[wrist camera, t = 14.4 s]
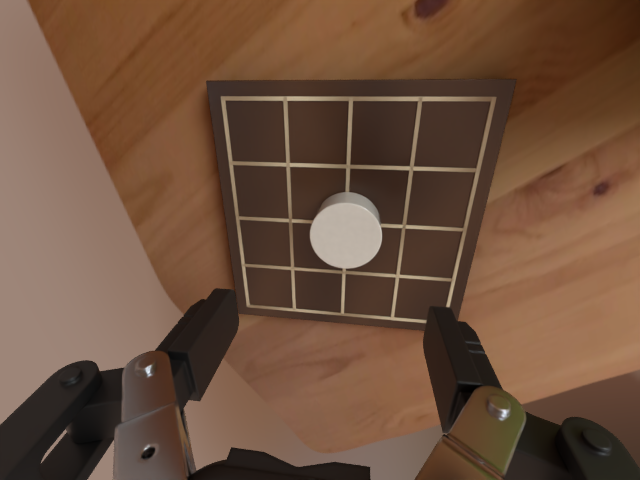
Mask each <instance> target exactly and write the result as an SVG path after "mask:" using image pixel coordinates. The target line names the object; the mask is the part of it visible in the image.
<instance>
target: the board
mask: <svg viewBox="0 0 640 480" xmlns="http://www.w3.org/2000/svg"><path fill="white" fill-rule="evenodd" d="M206 83H207V90H208V97H209V105H210V112H211V119H212V126H213V133H214V140H215V147H216V154H217V162H218V169H219V176H220V183H221V190H222V197H223V204H224V211H225V219H226V226H227V233H228V240H229V247H230V254H231V261H232V268H233V276H234V283H235V290H236V297H237V304H238V311H239V314H249V315H259V316H270V317H281V318H292V319H303V320H314V321H325V322H335V323H346V324H357V325H368V326H379V327H390V328H400V329H411V330H422V331H425V326H426V321H427V316H428V311H429V308H430V306H439V307H450V308H451V309H452V311H453V313H454V315H455V318H456V320H457V321H458V317H459V313H460V309H461V305H462V301H463V297H464V293H465V288H466V284H467V280H468V276H469V272H470V268H471V264H472V260H473V256H474V252H475V248H476V244H477V239H478V235H479V231H480V227H481V223H482V219H483V215H484V211H485V207H486V203H487V199H488V194H489V190H490V186H491V182H492V178H493V174H494V170H495V166H496V162H497V158H498V154H499V150H500V145H501V141H502V137H503V133H504V129H505V125H506V121H507V117H508V113H509V109H510V105H511V101H512V96H513V92H514V88H515V84H516V79H426V80H238V81H206ZM342 192H352V193H357V194H360V195H362V196H364V197H366V198H367V199H369V200H370V201H371V202H372V203H373V204H374V205H375V207H376V208H377V210H378V212H379V215H380V221H381V229H382V242H381V246H380V249H379V251H378V252H377V254H376V255H375V256H374V257H373V259H371V260H370V261H369V262H367V263H366V264H364V265H362V266H359V267H356V268H349V269H344V268H338V267H334V266H331V265H329V264H327V263H326V262H324V261H323V260H322V259H321V258H320V257H319V256H318V255H317V254H316V253H315V251H314V249H313V248H312V245H311V242H310V228H311V224H312V222H313V219H314V217H315V215H316V212H317V210H318V208H319V207H320V205H321V204H322V203H323V202H324V201H325V200H326V199H327V198H329V197H330V196H332V195H335V194H338V193H342Z"/></svg>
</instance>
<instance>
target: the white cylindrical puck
mask: <svg viewBox="0 0 640 480" xmlns="http://www.w3.org/2000/svg"><path fill="white" fill-rule="evenodd" d="M310 242H311V245H312V248H313V249H314V251H315V253H316V254H317V255H318V256H319V257H320V258H321V259H322V260H323V261H324V262H326V263H327V264H329V265H331V266H334V267H338V268H344V269H349V268H356V267H359V266H362V265H364V264H366V263H367V262H369V261H370V260H371V259H373V257H374V256H375V255H376V254H377V252H378V251H379V249H380V246H381V242H382V229H381V221H380V215H379V212H378V210H377V208H376V207H375V205H374V204H373V203H372V202H371V201H370V200H369V199H367V198H366V197H364V196H362V195H360V194H357V193H352V192H342V193H338V194H335V195H332V196H330V197H329V198H327V199H326V200H325V201H324V202H323V203H322V204H321V205H320V207H319V208H318V210H317V212H316V215H315V217H314V219H313V222H312V224H311V228H310Z"/></svg>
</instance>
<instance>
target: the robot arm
mask: <svg viewBox="0 0 640 480" xmlns="http://www.w3.org/2000/svg"><path fill="white" fill-rule="evenodd" d="M238 326H239V316H238V309H237V302H236V295H235V291H234V290H231V289H218V288H216V289H214V290H213V291H212V293H211V294H210V295H209V297H208V298H207V299H206V300H205V299H201V300H200V301H198V302H197V303H195V304H194V305H192V306H191V307H190V308H189V309H188V311H187V312H186V313H185V314H184V317H182V318H181V319H180V320H179V322H178V324H176V325H175V327H174V328H173V329H172V330H171V331H170V333H169V334H168V335H167V336H166V337H165V339H164V340H163V341H162V342H161V344H160V345H159V346H158V348H157V349H156V350H155V351H149V352H146V353H143V354H141V355H139V356H137V357H135V358H134V359H133V360H131V361H130V362H129V363H128V364H127V365H126V367H125V368H119V369H112V370H106V371H99V368H98V366H97V364H96V363H95V362H93V361H87V360H86V361H79V362H75V363H72V364H69V365H67V366H65V367H63V368H61V369H60V370H58V371H57V372H55V373H54V374H53V375H52V376H51V377H50V378H48V379H47V380H46V381H45V383H43V384H42V385H41V386H40V387H39V388H38V389H37V390H36V391H35V392H34V393H33V394H32V395H31V396H30V397H29V398H28V399H27V400H26V401H25V402H24V403H23V404H21V405H20V407H18V408H17V409H16V410H15V411H14V412H13V413H12V414H11V415H10V416H9V417H8V418H7V419H6V420H5V421H4V422H3V423H2V424H1V425H0V480H87V479H88V477H89V476H90V475H91V473H92V472H93V470H94V469H95V467H96V466H97V464H98V463H99V461H100V460H101V458H102V457H103V455H104V454H105V452H106V451H107V449H108V448H109V446H110V444H111V443H112V441H113V440H114V465H113V480H370V467H367V466H360V465H352V464H345V463H338V462H331V463H324V464H317V465H310V466H303V467H295V466H293V465H291V464H289V463H286V462H284V461H282V460H280V459H278V458H276V457H274V456H271V455H269V454H267V453H265V452H259V451H253V450H246V449H238V448H231V449H230V452H229V455H228V457H227V460H222V461H218V462H215V463H212V464H209V465H207V466H205V467H203V468H201V469H199V470H197V471H196V467H195V464H194V459H193V454H192V448H191V443H190V437H189V432H188V427H187V421H186V416H185V411H184V407H185V405H186V403H187V402H188V400H193V401H200V400H201V398H202V396H203V395H204V393H205V391H206V389H207V387H208V385H209V383H210V382H211V380H212V378H213V376H214V374H215V372H216V370H217V368H218V367H219V365H220V363H221V361H222V359H223V357H224V355H225V354H226V352H227V350H228V348H229V346H230V344H231V342H232V340H233V339H234V337H235V335H236V333H237V330H238ZM423 348H424V354H425V359H426V363H427V367H428V371H429V376H430V380H431V384H432V388H433V393H434V397H435V401H436V405H437V410H438V414H439V418H440V422H441V427H442V431H443V433H448V434H447V435H445V434H444V435H443V436H442V437H441V438H440V440H439V441H438V443H437V444H436V446H435V448H434V449H433V451H432V453H431V454H430V456H429V457H428V459H427V461H426V462H425V464H424V465H423V467H422V468H421V470H420V472H419V473H418V475H417V476H416V478H415V480H640V468H639V467H638V465H637V464H636V462H635V461H634V459H633V458H632V457H631V455H630V454H629V452H628V451H627V449H626V448H625V447H624V445H623V444H622V443H621V442H620V440H618V438H616V437H615V436H614V435H613V434H612V433H610V432H609V431H608V430H607V429H605V428H603V427H602V426H600V425H599V424H597V423H595V422H593V421H590V420H587V419H584V418H580V417H570V418H567V419H565V420H564V421H563V423H562V425H558V424H555V423H552V422H550V421H547V420H544V419H542V418H539V417H536V416H534V415H532V414H529V413H528V412H526V411H524V409H523V407H522V405H521V404H520V403H519V402H518V400H517V399H516V398H514V397H513V396H512V395H511V394H509V393H508V392H506V391H504V390H503V389H502V387H501V385H500V383H499V381H498V378H497V376H496V374H495V372H494V370H493V368H492V366H491V364H490V362H489V359H488V357H487V355H486V354H485V351H484V349H483V347H482V345H481V343H480V340H479V338H478V336H477V334H476V332H475V331H474V330H473V329H472V328H471V327H470V326H469V325H468V324H467V323H466V322H460V321H457V320H456V318H455V315H454V313H453V311H452V309H451V308H450V307H439V306H430V308H429V311H428V316H427V321H426V326H425V332H424V337H423ZM65 429H66V431H67V433H66V434H65V435H64V437H63V438H62V439H61V440H60V441H59V443H58V444H57V445H56V446H55V447H54V449H53V450H52V451H51V452H50V453H49V455H48V456H47V457H46V458H45V460H44V461H43V462H42V463H41V460H42V458H43V456H44V455H45V453H46V452H47V450H48V449H49V448H50V447H51V446H52V444H53V443H54V442H55V441H56V440H57V438H58V437H59V436H60V435H61V434H62V432H63V431H64V430H65Z"/></svg>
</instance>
